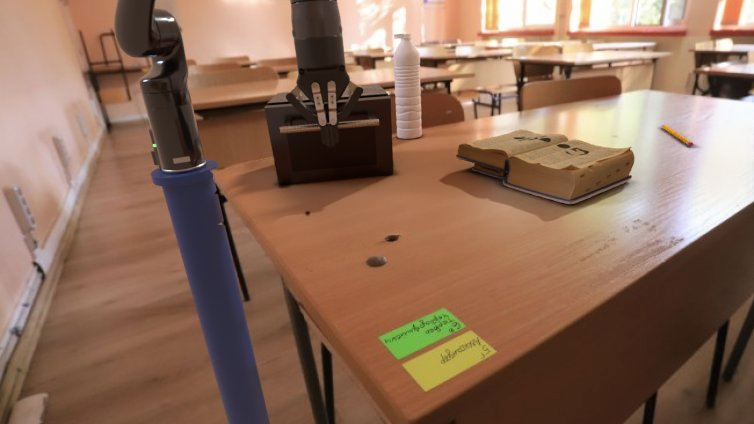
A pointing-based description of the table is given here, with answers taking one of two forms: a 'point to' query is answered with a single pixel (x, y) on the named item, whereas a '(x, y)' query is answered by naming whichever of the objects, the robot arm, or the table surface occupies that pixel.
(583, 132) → the table surface
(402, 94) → the water bottle
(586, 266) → the table surface
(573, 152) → the book
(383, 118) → the oven door
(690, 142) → the pencil
